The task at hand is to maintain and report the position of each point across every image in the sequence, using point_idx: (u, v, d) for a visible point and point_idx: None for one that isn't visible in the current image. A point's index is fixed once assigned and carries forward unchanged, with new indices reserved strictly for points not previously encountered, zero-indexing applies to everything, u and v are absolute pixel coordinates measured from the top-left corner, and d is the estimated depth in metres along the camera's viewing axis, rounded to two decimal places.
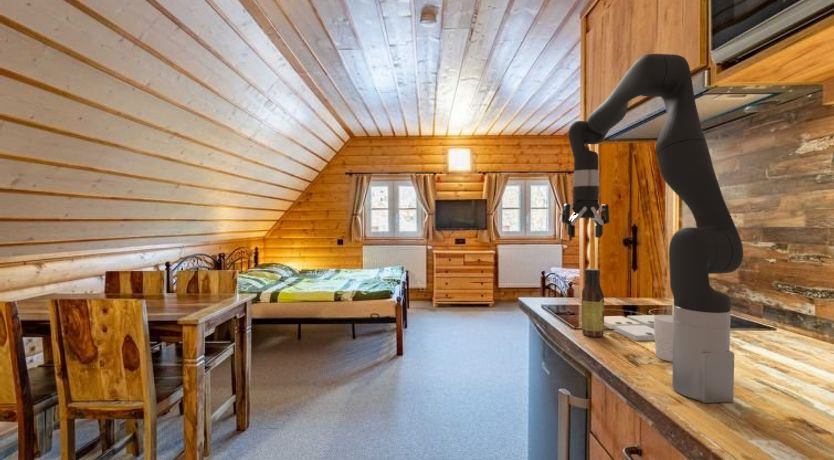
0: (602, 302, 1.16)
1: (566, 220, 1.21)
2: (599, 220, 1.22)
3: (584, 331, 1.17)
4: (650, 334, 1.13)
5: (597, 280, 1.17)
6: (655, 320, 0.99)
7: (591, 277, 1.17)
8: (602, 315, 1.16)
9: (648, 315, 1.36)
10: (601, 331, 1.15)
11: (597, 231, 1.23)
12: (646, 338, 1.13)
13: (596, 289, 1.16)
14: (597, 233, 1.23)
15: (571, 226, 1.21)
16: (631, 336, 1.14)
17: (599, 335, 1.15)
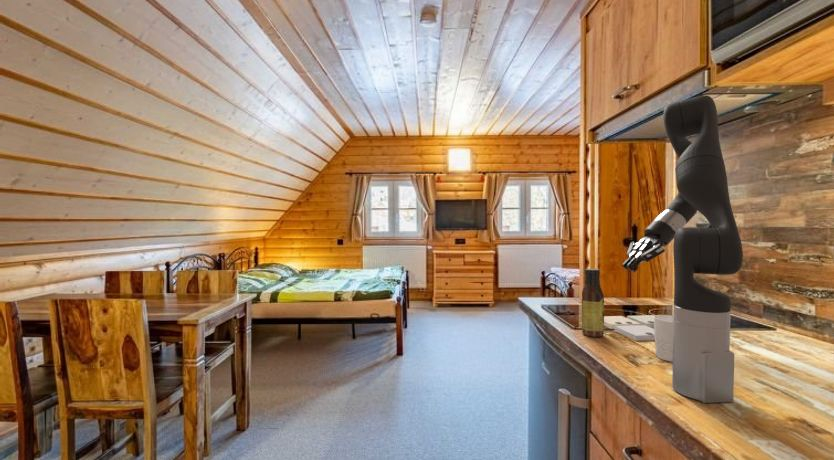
0: (602, 302, 1.16)
1: (628, 252, 1.23)
2: (639, 252, 1.18)
3: (584, 331, 1.17)
4: (650, 334, 1.13)
5: (597, 280, 1.17)
6: (655, 320, 0.99)
7: (591, 277, 1.17)
8: (602, 315, 1.16)
9: (648, 315, 1.36)
10: (601, 331, 1.15)
11: None
12: (646, 338, 1.13)
13: (596, 289, 1.16)
14: None
15: (629, 257, 1.21)
16: (631, 336, 1.14)
17: (599, 335, 1.15)
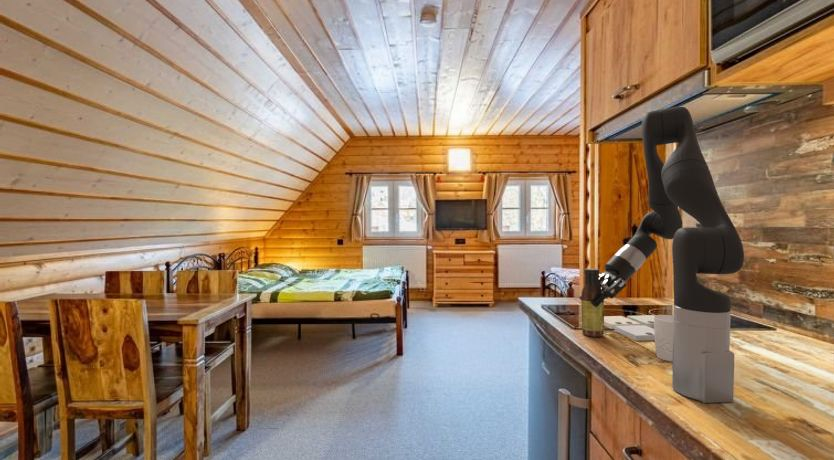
0: (602, 302, 1.16)
1: None
2: (602, 288, 1.15)
3: (584, 331, 1.17)
4: (650, 334, 1.13)
5: (597, 280, 1.17)
6: (655, 320, 0.99)
7: (591, 277, 1.17)
8: (602, 315, 1.16)
9: (648, 315, 1.36)
10: (601, 331, 1.15)
11: None
12: (646, 338, 1.13)
13: (596, 289, 1.16)
14: None
15: None
16: (631, 336, 1.14)
17: (599, 335, 1.15)
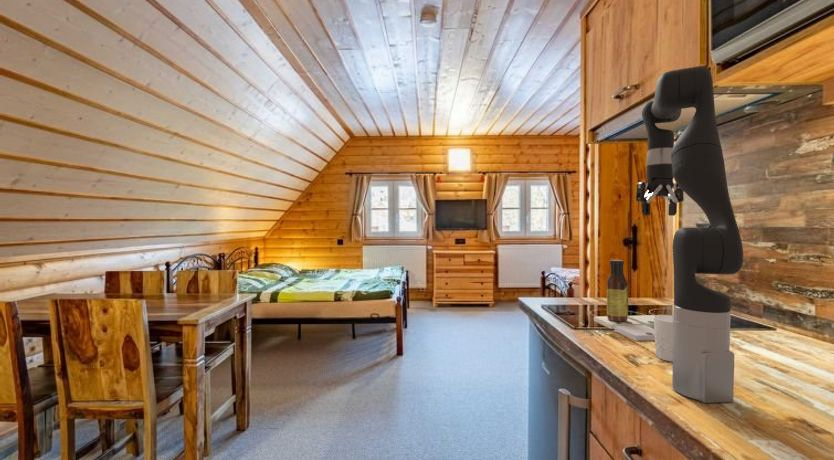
0: (626, 290, 1.27)
1: (642, 198, 1.22)
2: (674, 198, 1.23)
3: (609, 317, 1.29)
4: (650, 334, 1.13)
5: (621, 270, 1.28)
6: (655, 320, 0.99)
7: (616, 268, 1.28)
8: (626, 302, 1.27)
9: (648, 315, 1.36)
10: (625, 316, 1.27)
11: (671, 209, 1.24)
12: (646, 338, 1.13)
13: (621, 278, 1.27)
14: (671, 211, 1.24)
15: (646, 204, 1.23)
16: (631, 336, 1.14)
17: (624, 320, 1.27)
